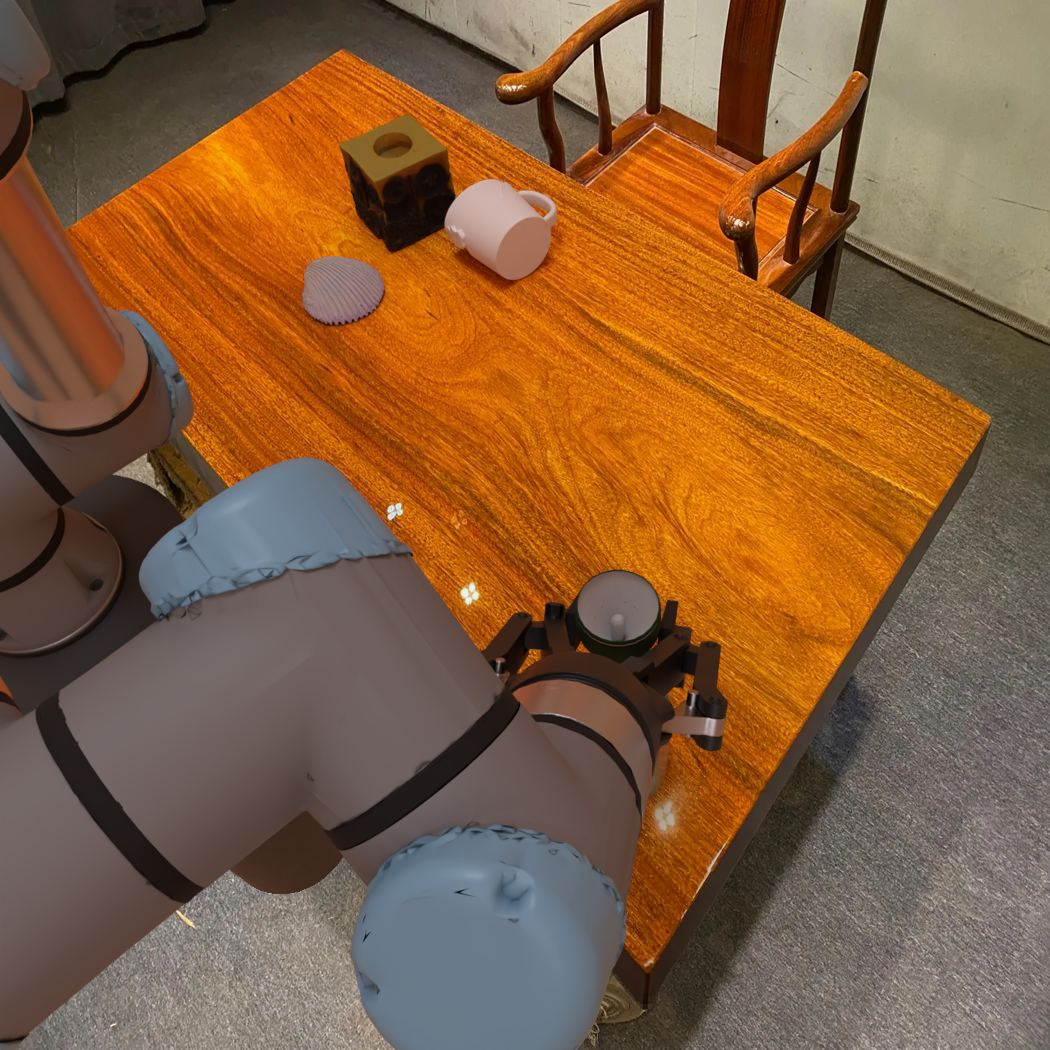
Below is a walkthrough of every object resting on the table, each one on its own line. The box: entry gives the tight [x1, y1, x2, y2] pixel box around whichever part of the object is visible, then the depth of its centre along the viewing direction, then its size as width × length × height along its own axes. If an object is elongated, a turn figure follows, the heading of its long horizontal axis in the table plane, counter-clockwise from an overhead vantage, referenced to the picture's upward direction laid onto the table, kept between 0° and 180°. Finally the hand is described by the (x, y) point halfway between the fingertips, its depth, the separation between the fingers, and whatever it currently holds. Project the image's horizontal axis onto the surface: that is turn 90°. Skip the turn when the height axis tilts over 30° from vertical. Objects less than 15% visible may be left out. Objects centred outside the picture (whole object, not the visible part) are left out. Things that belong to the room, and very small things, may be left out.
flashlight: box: [575, 569, 662, 664], centre depth 62 cm, size 5×5×20 cm
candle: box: [338, 113, 457, 253], centre depth 114 cm, size 10×10×10 cm
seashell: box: [301, 256, 386, 326], centre depth 109 cm, size 10×6×10 cm
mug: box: [444, 178, 558, 281], centre depth 109 cm, size 12×9×8 cm
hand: (627, 613), depth 62 cm, fingers closed on flashlight, 5 cm apart
